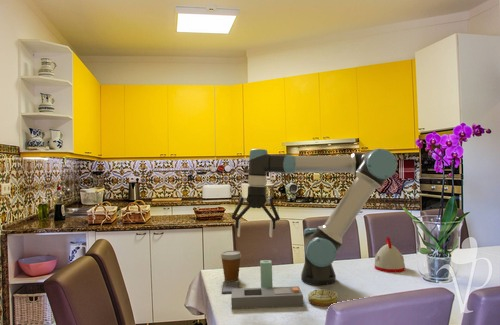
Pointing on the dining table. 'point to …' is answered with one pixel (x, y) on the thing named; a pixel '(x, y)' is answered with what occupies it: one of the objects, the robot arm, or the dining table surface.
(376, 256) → the kitchen timer
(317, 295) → the yellow flat round piece
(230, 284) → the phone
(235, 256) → the disposable coffee cup
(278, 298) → the power strip
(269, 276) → the pale green tall block
